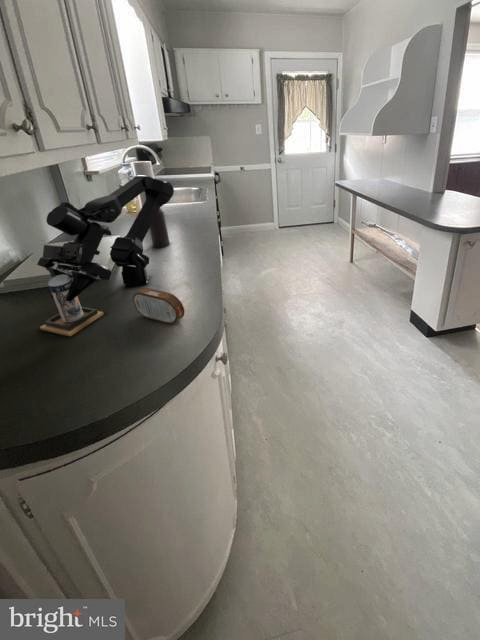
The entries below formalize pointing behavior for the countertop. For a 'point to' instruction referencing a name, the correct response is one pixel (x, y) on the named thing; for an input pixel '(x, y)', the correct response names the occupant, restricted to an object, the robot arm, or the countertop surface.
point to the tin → (158, 305)
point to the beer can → (60, 291)
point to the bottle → (159, 230)
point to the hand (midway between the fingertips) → (60, 299)
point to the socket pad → (71, 328)
